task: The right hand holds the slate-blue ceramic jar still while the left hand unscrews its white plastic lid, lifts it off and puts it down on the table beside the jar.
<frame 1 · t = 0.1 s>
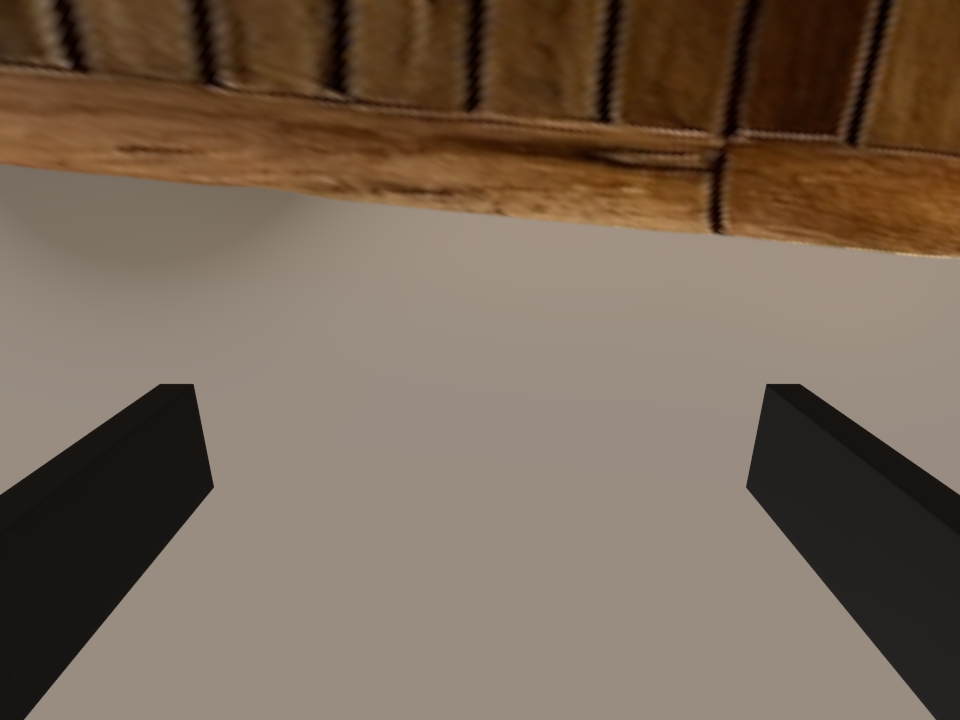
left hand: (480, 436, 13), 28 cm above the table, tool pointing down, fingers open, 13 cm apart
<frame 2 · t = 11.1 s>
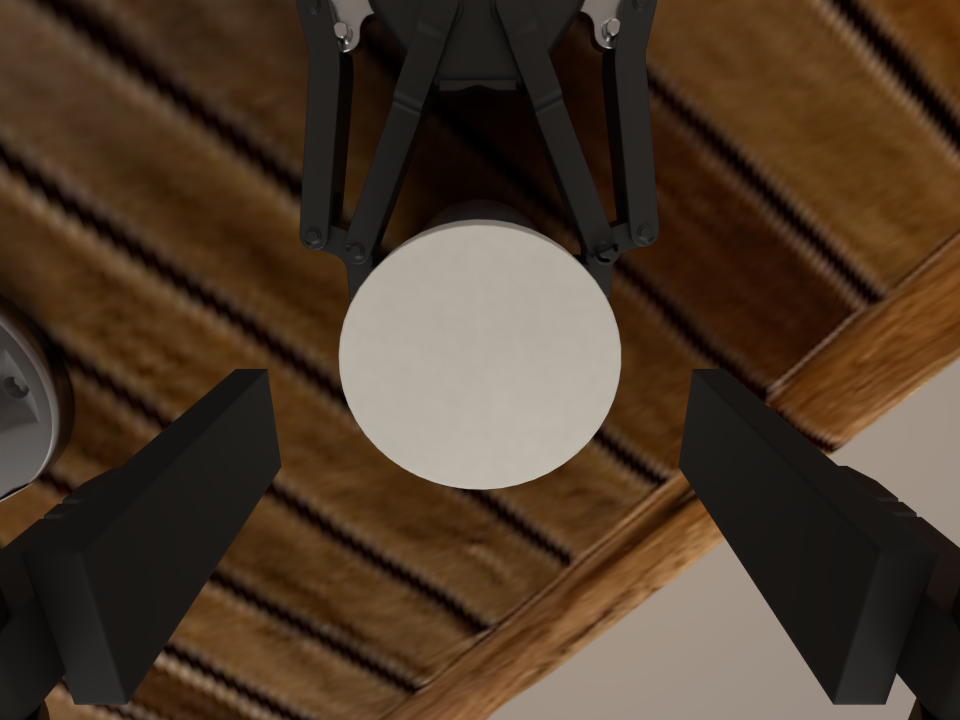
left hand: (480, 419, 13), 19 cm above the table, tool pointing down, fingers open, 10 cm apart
right hand: (481, 389, 27), fingers closed on jar, 8 cm apart
jar: (479, 272, 31), on the table, touching right hand
lid: (479, 365, 17), point 15 cm above the table, screwed on, not yet turned
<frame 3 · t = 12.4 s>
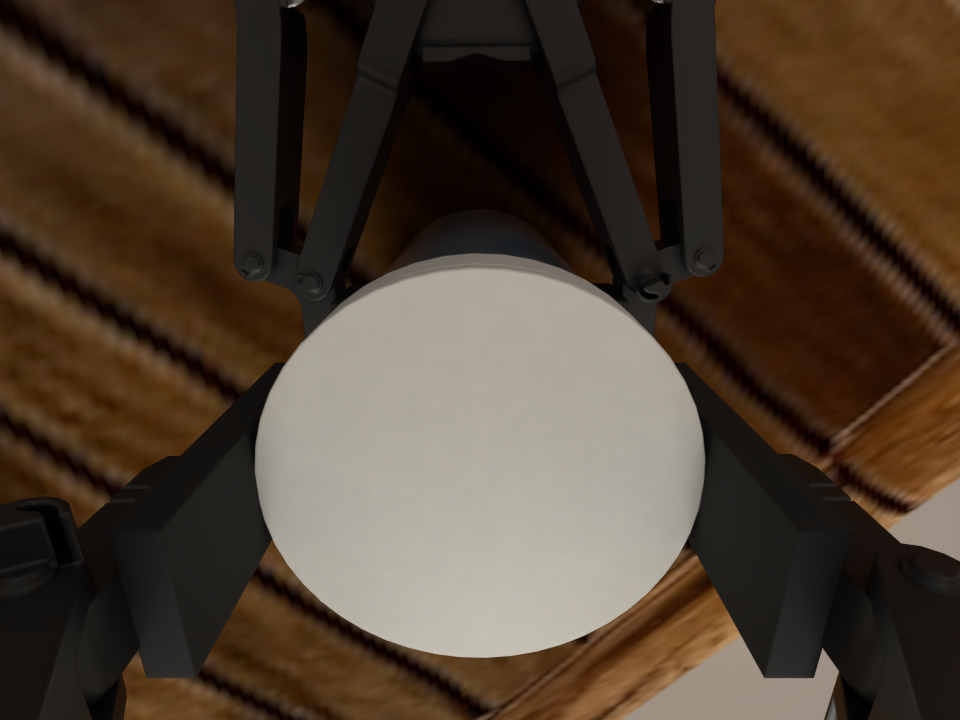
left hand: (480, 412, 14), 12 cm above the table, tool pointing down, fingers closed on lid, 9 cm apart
jar: (479, 298, 25), on the table, touching right hand
lid: (479, 480, 11), point 15 cm above the table, screwed on, not yet turned, touching left hand
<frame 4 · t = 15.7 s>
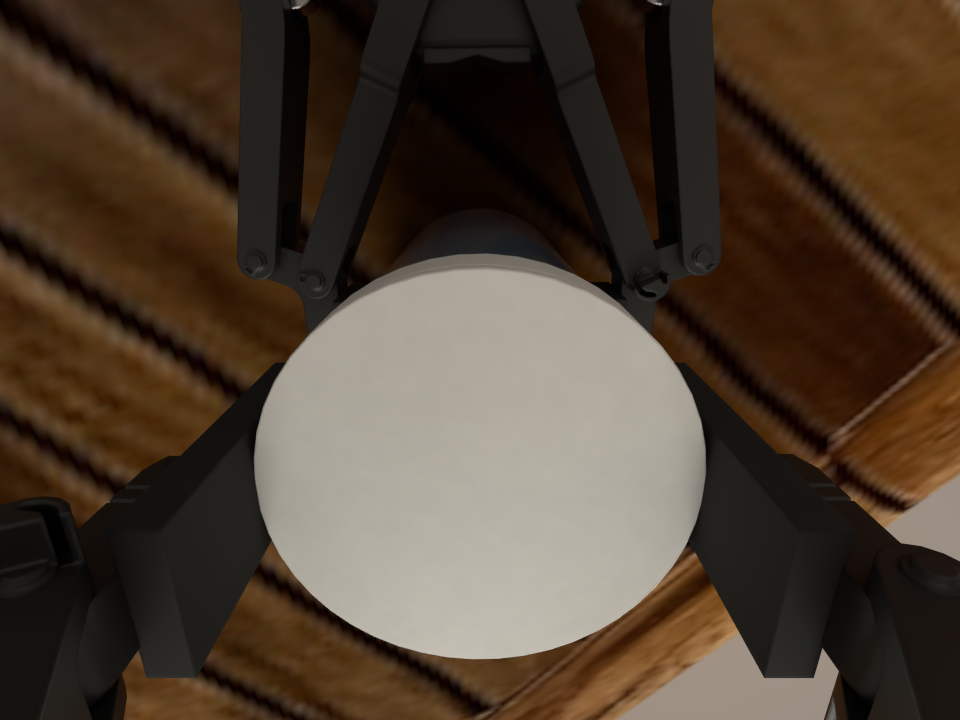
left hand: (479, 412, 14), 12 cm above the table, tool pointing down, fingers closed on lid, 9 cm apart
jar: (480, 297, 25), on the table, touching right hand
lid: (480, 481, 11), point 16 cm above the table, turned 79° so far, risen 0.3 cm, still on its thread, touching left hand
when the left hand's fingers open (0 cm above the table, at t = 22.5 s): lid drops 2 cm, point 1 cm above the table.
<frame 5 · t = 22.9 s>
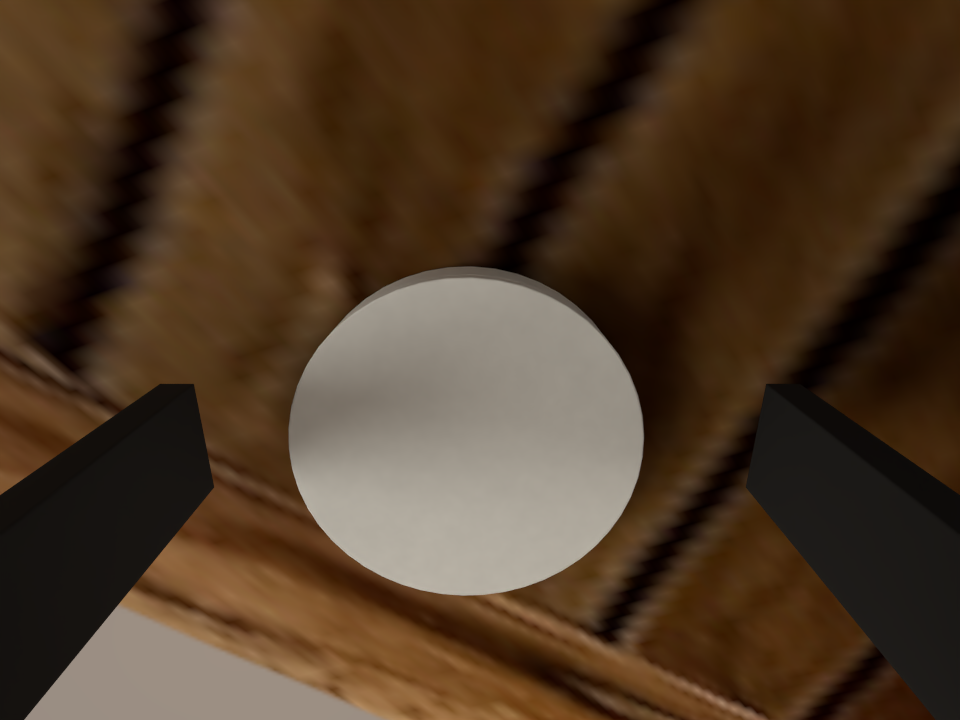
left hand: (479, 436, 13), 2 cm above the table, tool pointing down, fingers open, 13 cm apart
lid: (467, 447, 14), point 1 cm above the table, off its thread
when the right hand's fingers open (6 cm above the table, at t = 23.4 s): jar stays where it is, on the table.
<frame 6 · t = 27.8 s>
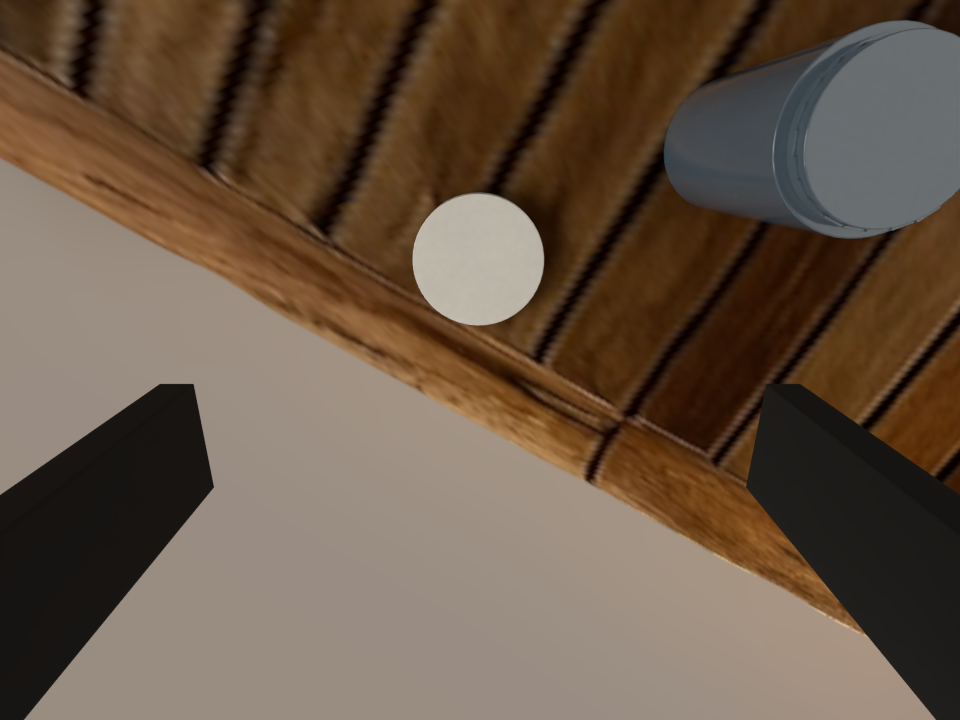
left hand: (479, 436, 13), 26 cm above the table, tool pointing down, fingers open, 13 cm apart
jar: (727, 145, 35), on the table
lid: (478, 261, 36), point 1 cm above the table, off its thread
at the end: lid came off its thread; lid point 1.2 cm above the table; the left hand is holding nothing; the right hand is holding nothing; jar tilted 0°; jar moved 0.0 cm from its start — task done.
